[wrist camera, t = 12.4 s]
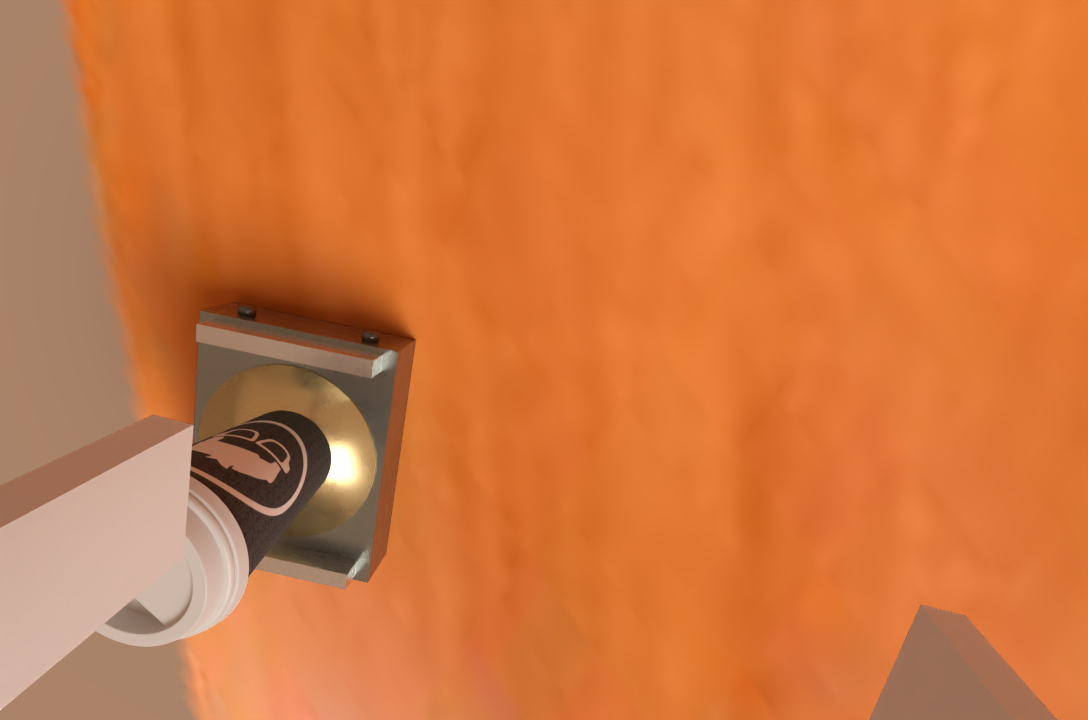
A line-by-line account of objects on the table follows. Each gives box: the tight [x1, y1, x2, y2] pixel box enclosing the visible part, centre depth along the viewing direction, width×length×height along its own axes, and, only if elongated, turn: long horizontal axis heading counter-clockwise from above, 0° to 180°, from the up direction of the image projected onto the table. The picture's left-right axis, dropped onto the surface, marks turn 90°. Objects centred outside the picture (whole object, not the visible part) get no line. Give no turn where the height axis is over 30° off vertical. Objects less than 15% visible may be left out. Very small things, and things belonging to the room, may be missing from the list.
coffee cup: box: [96, 410, 332, 646], centre depth 36 cm, size 10×10×15 cm
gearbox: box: [193, 302, 416, 589], centre depth 45 cm, size 19×14×6 cm
